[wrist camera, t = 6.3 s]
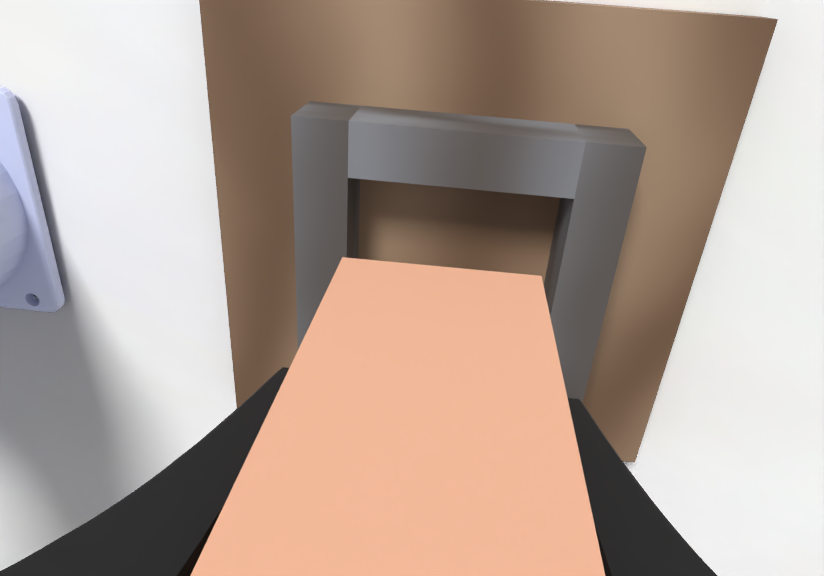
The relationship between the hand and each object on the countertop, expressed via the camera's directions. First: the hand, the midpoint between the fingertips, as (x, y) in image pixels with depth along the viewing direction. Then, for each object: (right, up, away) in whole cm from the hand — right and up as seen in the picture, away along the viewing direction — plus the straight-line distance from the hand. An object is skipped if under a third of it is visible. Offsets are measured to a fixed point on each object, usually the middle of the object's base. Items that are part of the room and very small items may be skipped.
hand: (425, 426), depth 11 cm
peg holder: (+1, +4, +9) cm, 10 cm away
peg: (0, +1, +2) cm, 2 cm away
